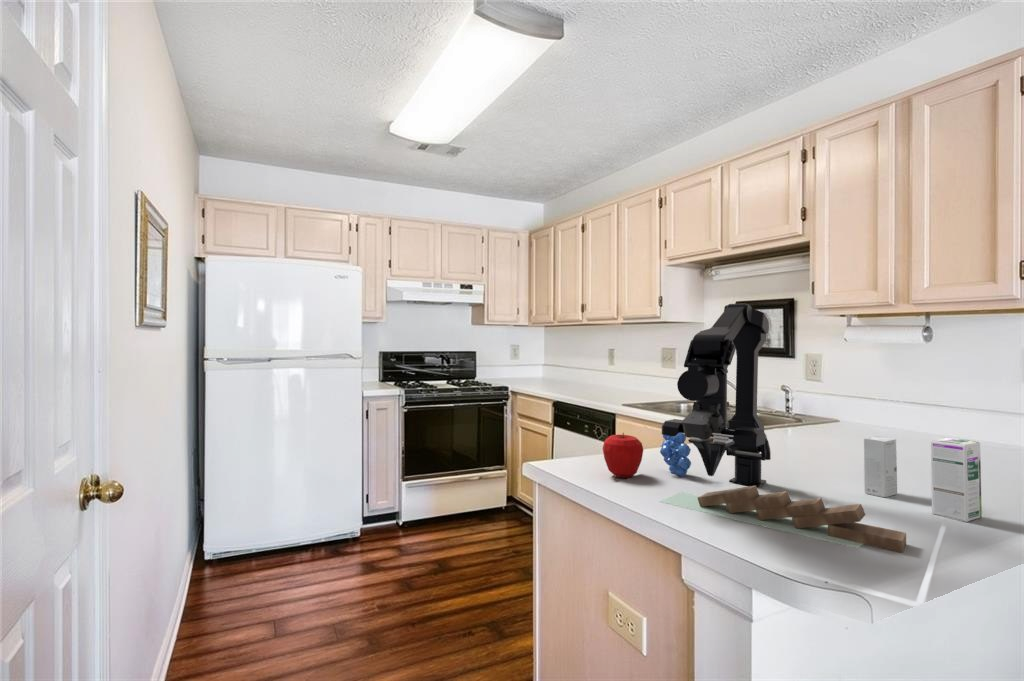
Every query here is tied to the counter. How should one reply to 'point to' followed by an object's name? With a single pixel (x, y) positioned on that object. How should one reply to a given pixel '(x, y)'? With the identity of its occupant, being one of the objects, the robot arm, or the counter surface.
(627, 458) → the apple
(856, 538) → the domino
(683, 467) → the grapes
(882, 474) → the skincare box
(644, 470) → the counter surface
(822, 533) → the board
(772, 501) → the domino
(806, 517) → the domino
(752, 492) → the domino
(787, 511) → the domino
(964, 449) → the syrup box
